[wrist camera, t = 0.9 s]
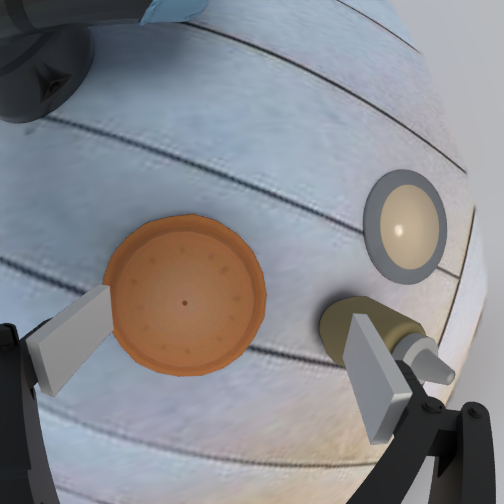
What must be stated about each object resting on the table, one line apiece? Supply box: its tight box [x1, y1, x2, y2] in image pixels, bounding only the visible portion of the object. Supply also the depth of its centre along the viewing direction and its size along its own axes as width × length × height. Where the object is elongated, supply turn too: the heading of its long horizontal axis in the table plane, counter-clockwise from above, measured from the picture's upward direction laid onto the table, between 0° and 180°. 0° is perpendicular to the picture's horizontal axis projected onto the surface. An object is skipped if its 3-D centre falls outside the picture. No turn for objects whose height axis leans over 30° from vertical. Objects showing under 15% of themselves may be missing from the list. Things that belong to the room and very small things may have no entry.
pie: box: [103, 214, 267, 376], centre depth 29 cm, size 15×16×5 cm
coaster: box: [363, 170, 447, 285], centre depth 37 cm, size 15×15×1 cm
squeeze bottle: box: [319, 296, 455, 385], centre depth 27 cm, size 8×8×18 cm
